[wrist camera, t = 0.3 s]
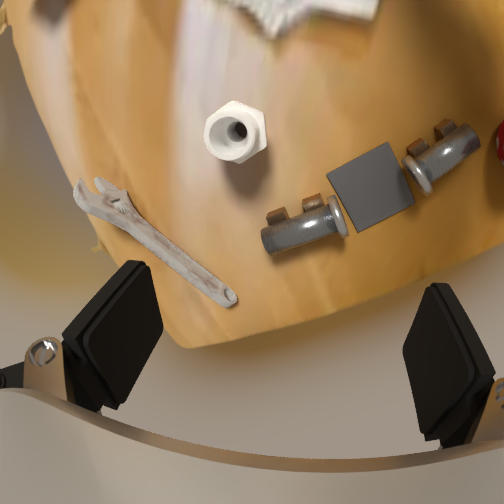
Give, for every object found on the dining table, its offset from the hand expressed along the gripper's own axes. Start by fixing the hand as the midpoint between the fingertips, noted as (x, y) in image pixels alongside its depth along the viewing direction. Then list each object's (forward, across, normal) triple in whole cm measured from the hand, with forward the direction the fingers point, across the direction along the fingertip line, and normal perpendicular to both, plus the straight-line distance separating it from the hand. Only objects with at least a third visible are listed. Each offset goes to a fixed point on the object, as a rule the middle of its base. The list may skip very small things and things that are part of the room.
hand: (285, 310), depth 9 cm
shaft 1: (+29, -1, +8) cm, 30 cm away
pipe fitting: (+29, +7, -3) cm, 30 cm away
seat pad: (+29, -10, +3) cm, 30 cm away
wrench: (+30, +19, +12) cm, 37 cm away
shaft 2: (+29, -18, -3) cm, 34 cm away
